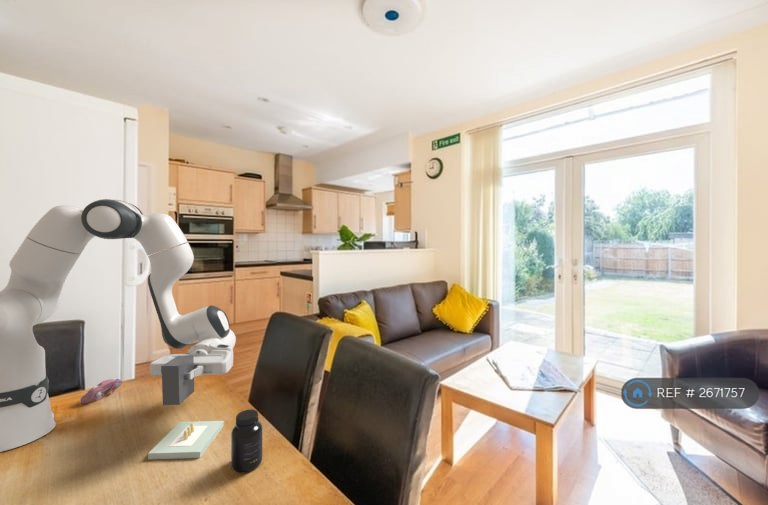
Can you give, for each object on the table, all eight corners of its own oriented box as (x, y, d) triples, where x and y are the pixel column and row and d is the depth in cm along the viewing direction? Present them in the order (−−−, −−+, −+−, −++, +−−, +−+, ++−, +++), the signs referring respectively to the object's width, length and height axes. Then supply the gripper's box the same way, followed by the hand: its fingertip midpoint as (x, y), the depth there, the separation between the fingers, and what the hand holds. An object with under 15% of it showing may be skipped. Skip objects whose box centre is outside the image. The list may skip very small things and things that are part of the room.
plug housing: (162, 405, 78) (161, 366, 78) (179, 391, 85) (178, 355, 85) (179, 404, 78) (178, 365, 78) (194, 391, 85) (193, 355, 85)
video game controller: (88, 410, 98) (95, 391, 98) (77, 402, 99) (85, 384, 98) (119, 395, 108) (127, 378, 107) (109, 388, 109) (117, 371, 108)
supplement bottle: (226, 464, 74) (225, 414, 73) (253, 450, 79) (253, 403, 79) (239, 479, 69) (239, 426, 69) (268, 462, 75) (268, 413, 74)
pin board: (148, 459, 75) (148, 444, 75) (179, 427, 88) (179, 414, 88) (200, 457, 76) (200, 442, 76) (223, 426, 89) (223, 413, 89)
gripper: (167, 346, 93) (133, 365, 80) (237, 345, 95) (216, 364, 81) (167, 367, 94) (134, 390, 80) (238, 366, 95) (217, 387, 81)
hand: (176, 377), depth 81 cm, fingers closed on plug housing, 4 cm apart
